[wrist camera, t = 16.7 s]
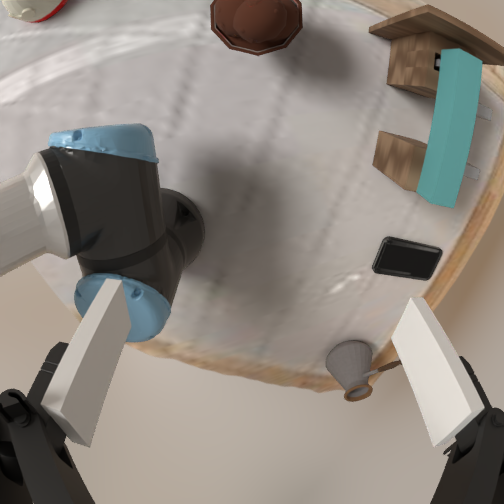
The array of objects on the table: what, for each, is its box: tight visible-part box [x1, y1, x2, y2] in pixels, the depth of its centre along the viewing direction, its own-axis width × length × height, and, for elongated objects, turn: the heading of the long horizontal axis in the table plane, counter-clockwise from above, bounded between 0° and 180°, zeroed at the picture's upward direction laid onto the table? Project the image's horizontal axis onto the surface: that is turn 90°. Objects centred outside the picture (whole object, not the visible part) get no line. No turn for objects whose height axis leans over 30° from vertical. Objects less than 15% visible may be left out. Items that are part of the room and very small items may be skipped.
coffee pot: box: [326, 341, 402, 402], centre depth 59 cm, size 21×12×15 cm, turn 153°
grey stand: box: [463, 103, 492, 180], centre depth 39 cm, size 13×5×6 cm, turn 175°
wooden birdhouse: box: [369, 5, 504, 99], centre depth 29 cm, size 9×16×18 cm, turn 85°
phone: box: [372, 237, 442, 281], centre depth 55 cm, size 8×1×15 cm
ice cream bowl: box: [210, 0, 303, 56], centre depth 28 cm, size 11×11×15 cm
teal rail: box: [416, 49, 483, 208], centre depth 31 cm, size 20×4×9 cm, turn 175°
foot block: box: [373, 131, 427, 192], centre depth 39 cm, size 6×8×12 cm
